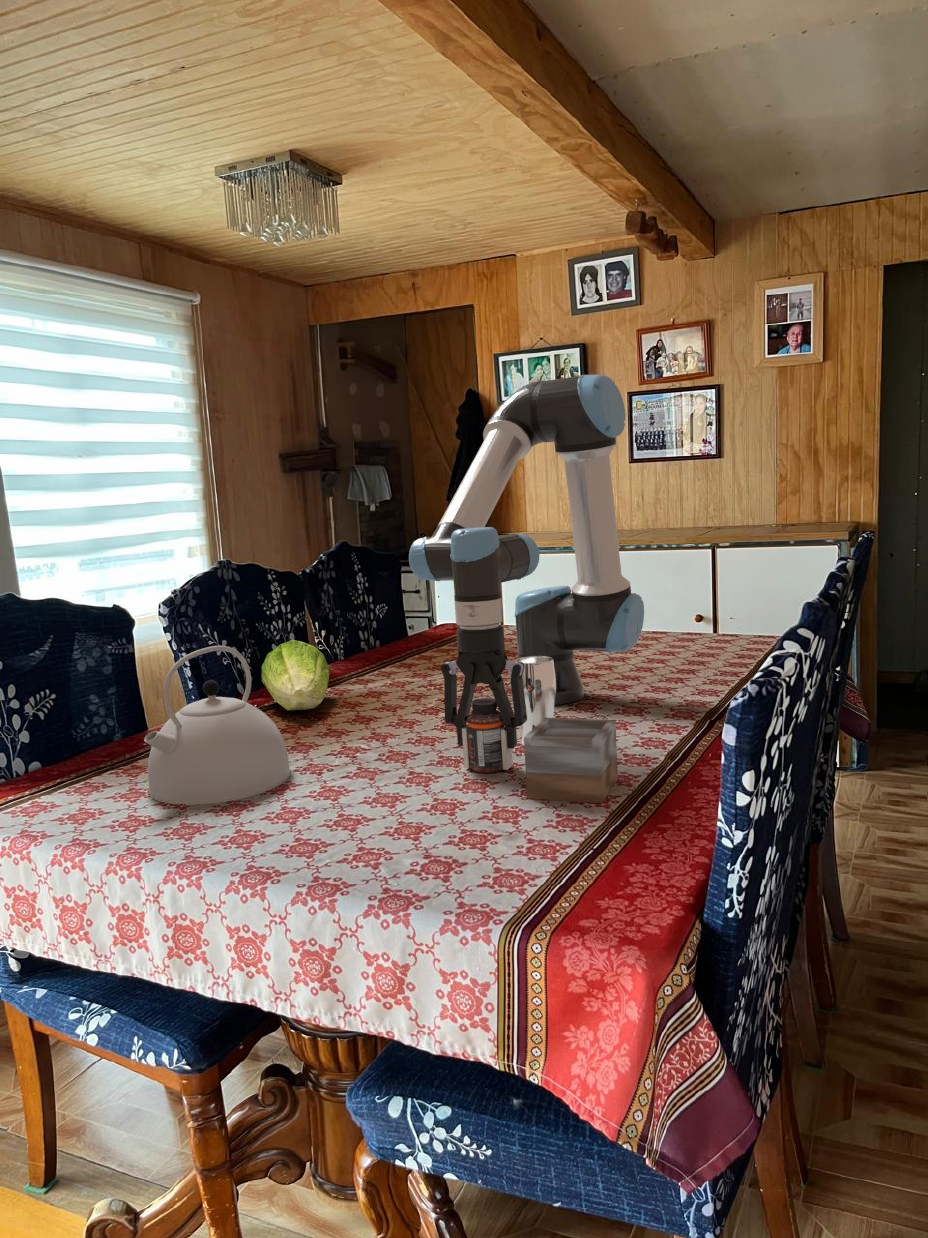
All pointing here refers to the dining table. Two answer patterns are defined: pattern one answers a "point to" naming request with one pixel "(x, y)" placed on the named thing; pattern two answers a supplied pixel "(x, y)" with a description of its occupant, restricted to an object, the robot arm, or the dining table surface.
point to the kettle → (215, 747)
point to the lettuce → (296, 675)
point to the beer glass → (538, 690)
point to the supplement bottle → (485, 736)
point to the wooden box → (571, 759)
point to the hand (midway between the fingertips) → (488, 765)
